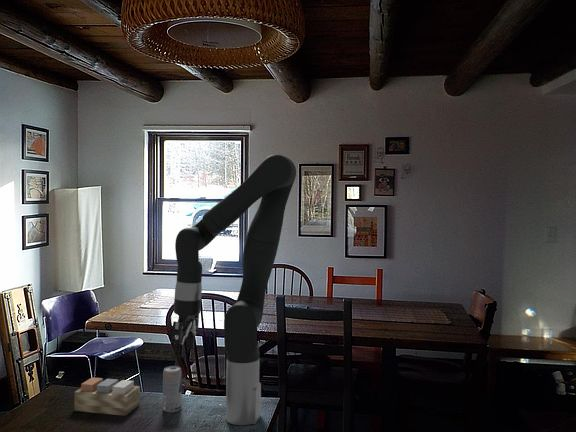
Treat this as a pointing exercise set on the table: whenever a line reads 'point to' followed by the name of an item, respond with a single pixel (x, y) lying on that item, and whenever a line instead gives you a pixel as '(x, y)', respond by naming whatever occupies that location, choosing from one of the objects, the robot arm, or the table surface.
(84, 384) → the rust key
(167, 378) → the energy drink
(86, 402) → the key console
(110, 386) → the slate key
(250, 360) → the robot arm
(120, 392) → the ivory key
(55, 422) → the table surface
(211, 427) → the table surface
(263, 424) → the table surface
